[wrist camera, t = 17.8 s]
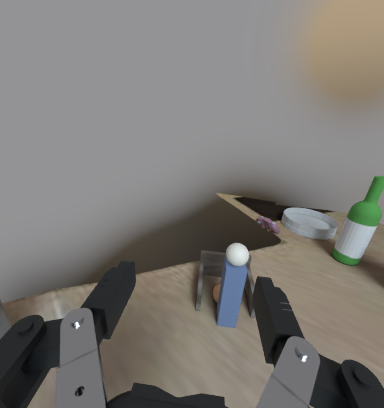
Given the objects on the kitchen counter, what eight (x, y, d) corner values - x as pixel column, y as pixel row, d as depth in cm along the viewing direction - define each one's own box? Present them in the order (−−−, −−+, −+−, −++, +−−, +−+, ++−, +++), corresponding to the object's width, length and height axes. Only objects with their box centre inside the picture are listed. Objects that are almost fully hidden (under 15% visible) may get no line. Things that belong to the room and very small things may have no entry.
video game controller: (256, 228, 89) (253, 217, 84) (262, 222, 90) (260, 211, 86) (274, 238, 81) (273, 227, 77) (281, 232, 82) (280, 220, 78)
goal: (254, 318, 45) (261, 292, 42) (195, 310, 46) (198, 285, 43) (246, 277, 57) (250, 255, 54) (199, 271, 58) (201, 250, 55)
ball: (209, 281, 50) (208, 302, 48) (220, 284, 45) (219, 307, 44) (225, 281, 52) (225, 302, 50) (237, 284, 47) (237, 307, 46)
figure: (236, 328, 42) (253, 253, 34) (216, 326, 43) (228, 251, 35) (234, 311, 46) (248, 239, 38) (215, 308, 47) (226, 237, 39)
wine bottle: (333, 249, 73) (365, 172, 61) (359, 259, 68) (399, 177, 56) (328, 258, 68) (363, 175, 56) (356, 270, 63) (400, 182, 51)
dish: (334, 225, 93) (337, 216, 91) (335, 246, 76) (339, 235, 74) (285, 212, 104) (287, 203, 102) (276, 228, 87) (279, 218, 85)
